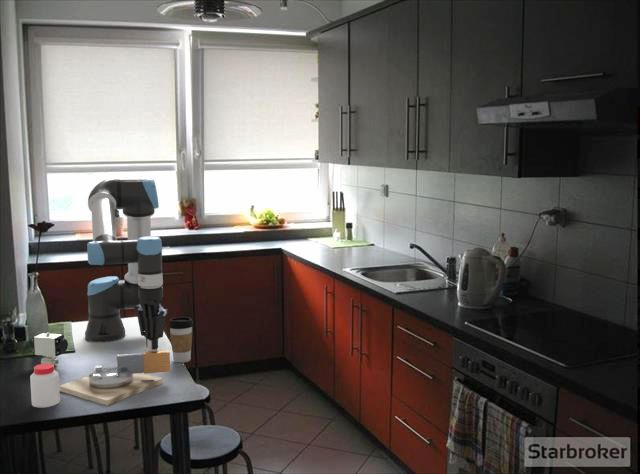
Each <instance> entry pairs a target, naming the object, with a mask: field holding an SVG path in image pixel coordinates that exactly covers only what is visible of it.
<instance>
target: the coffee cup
mask: <svg viewBox="0 0 640 474" xmlns="http://www.w3.org/2000/svg"><path fill="white" fill-rule="evenodd" d="M193 327H194V322H193V319H192V318H191V317H188V316H179V317H173V318H170V319H169V323H168V328H169V331H170V332H169V335H170V336H169V338H170V343H171V351H172V358H173V359H172V360H174V361H175V362H174V361H173V362H174V363H177V362H182V363H187V362H190V361H191V356H192V355H191V354H192V342H193Z"/></svg>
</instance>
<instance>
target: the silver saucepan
mask: <svg viewBox="0 0 640 474" xmlns="http://www.w3.org/2000/svg"><path fill="white" fill-rule="evenodd" d="M170 351H171V350H168V349H167V350H157V351H152V352H148V351H143V352H138V353H123V354H117V355H116V365H117V367H114V366H107V367H104V366H103V365H102V364H101V365H95V367H94V369H95V370H93V371H92V372H90V373H89V375H88V376H89V384H90V386H92V387H94V388H100V389H110V388H117V387H122V386H125V385H127V384H129V383H131V382H132V381H133V374H135V373H144V374H157V373H170V372H171V355H170V354H171V353H170Z"/></svg>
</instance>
